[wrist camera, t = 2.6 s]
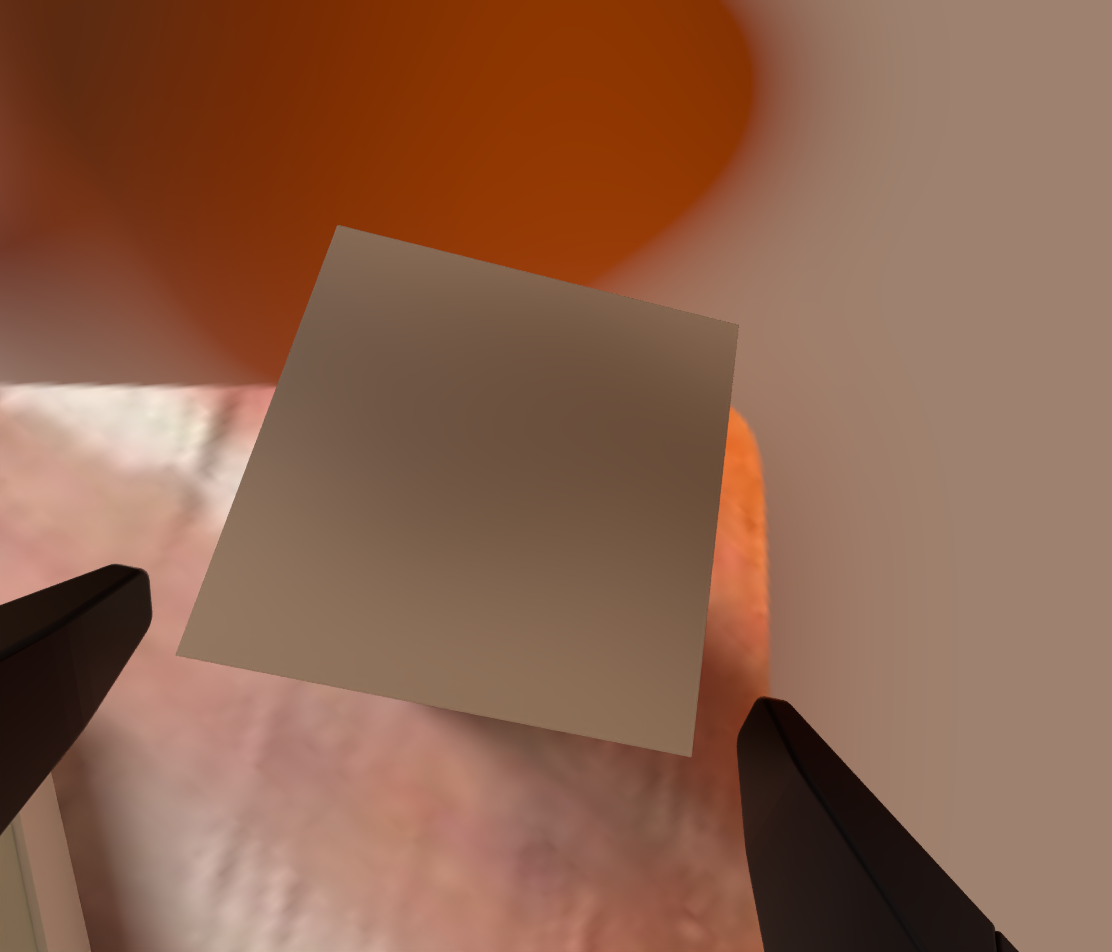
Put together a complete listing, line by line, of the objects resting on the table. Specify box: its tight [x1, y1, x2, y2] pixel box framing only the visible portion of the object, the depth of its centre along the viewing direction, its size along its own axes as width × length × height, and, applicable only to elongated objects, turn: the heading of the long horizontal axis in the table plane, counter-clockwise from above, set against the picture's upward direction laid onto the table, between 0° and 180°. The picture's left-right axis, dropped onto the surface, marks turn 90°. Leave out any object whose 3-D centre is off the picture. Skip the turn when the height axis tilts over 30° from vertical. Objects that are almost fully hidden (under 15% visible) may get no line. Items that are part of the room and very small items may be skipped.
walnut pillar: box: [176, 225, 739, 757], centre depth 13 cm, size 5×5×12 cm
